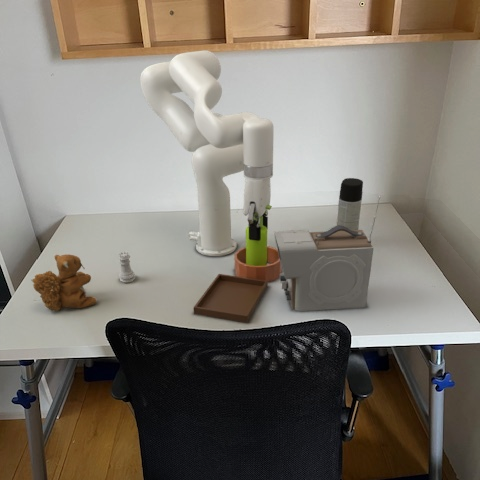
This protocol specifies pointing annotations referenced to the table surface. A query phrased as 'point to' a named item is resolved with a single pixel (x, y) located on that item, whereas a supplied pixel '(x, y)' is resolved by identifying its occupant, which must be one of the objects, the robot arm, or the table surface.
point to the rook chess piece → (125, 269)
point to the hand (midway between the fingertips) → (258, 234)
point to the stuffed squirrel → (64, 285)
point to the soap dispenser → (257, 246)
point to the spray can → (350, 203)
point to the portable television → (325, 267)
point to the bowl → (258, 272)
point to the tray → (231, 298)
